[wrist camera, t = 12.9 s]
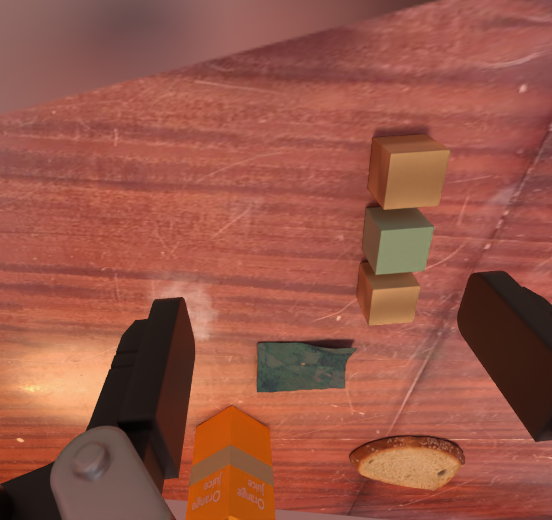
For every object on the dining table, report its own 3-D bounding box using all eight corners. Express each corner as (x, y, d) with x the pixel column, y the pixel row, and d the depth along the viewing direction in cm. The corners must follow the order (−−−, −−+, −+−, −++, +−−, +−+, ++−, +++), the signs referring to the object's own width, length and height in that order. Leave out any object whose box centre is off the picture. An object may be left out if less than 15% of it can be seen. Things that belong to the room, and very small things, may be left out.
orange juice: (235, 448, 60) (231, 612, 43) (195, 427, 56) (174, 599, 39) (270, 428, 58) (282, 593, 41) (232, 404, 54) (227, 577, 37)
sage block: (366, 207, 37) (381, 230, 33) (413, 204, 38) (434, 226, 33) (361, 248, 40) (375, 275, 36) (406, 245, 40) (424, 271, 36)
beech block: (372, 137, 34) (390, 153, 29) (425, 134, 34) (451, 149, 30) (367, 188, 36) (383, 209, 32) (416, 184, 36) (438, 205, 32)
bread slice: (343, 451, 63) (348, 473, 60) (443, 415, 59) (454, 436, 56) (378, 491, 72) (384, 512, 69) (467, 461, 68) (478, 482, 65)
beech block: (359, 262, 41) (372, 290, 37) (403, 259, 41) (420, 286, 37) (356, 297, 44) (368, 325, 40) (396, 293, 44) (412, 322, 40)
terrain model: (255, 381, 51) (255, 392, 49) (257, 340, 47) (258, 350, 45) (344, 379, 52) (347, 390, 51) (353, 339, 48) (357, 349, 47)
